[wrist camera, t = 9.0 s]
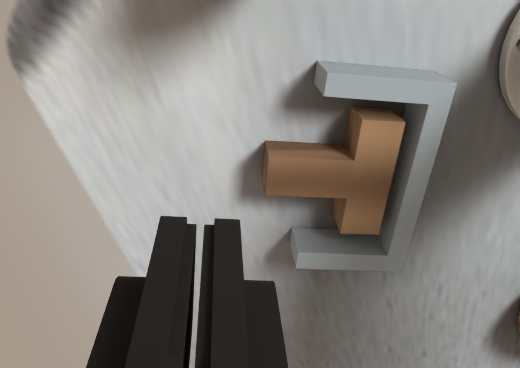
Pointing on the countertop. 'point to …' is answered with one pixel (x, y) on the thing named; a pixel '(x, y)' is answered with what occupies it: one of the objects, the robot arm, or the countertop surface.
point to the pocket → (405, 173)
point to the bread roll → (519, 321)
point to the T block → (341, 169)
